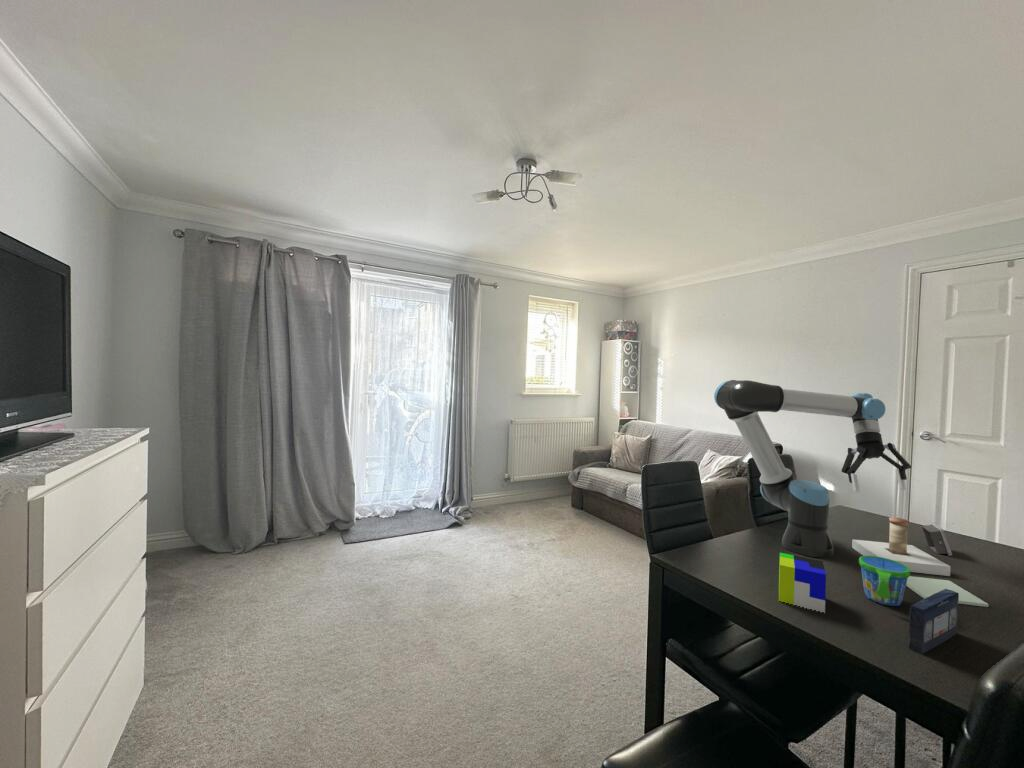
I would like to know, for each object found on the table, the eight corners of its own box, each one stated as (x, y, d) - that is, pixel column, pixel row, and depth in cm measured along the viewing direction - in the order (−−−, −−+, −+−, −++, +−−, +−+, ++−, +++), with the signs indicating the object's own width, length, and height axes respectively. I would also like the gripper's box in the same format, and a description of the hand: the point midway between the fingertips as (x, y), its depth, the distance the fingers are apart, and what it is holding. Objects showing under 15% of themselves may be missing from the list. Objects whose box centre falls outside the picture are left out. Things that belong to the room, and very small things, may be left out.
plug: (893, 562, 141) (894, 520, 141) (884, 557, 146) (885, 516, 146) (910, 564, 140) (912, 522, 140) (901, 558, 145) (902, 517, 145)
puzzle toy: (824, 613, 109) (826, 574, 109) (778, 601, 114) (779, 564, 114) (821, 597, 117) (822, 561, 117) (778, 587, 123) (779, 552, 123)
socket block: (881, 568, 137) (882, 559, 137) (852, 547, 154) (852, 539, 154) (950, 576, 132) (950, 566, 132) (911, 553, 150) (911, 545, 150)
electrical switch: (953, 557, 148) (950, 530, 148) (932, 555, 150) (930, 528, 150) (941, 548, 156) (939, 522, 156) (923, 546, 158) (920, 521, 159)
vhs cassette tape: (922, 655, 93) (923, 610, 93) (905, 647, 95) (906, 603, 95) (960, 635, 101) (961, 593, 100) (943, 628, 103) (944, 588, 103)
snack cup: (906, 618, 107) (907, 578, 107) (853, 602, 115) (854, 564, 115) (911, 598, 118) (912, 561, 118) (862, 584, 125) (863, 550, 125)
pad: (925, 599, 117) (925, 596, 117) (893, 576, 131) (893, 574, 131) (988, 607, 114) (988, 604, 114) (949, 583, 127) (949, 580, 127)
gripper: (914, 430, 152) (928, 490, 144) (835, 441, 172) (844, 494, 164) (904, 425, 149) (918, 486, 141) (825, 436, 169) (834, 490, 161)
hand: (878, 490), depth 153 cm, fingers open, 13 cm apart
